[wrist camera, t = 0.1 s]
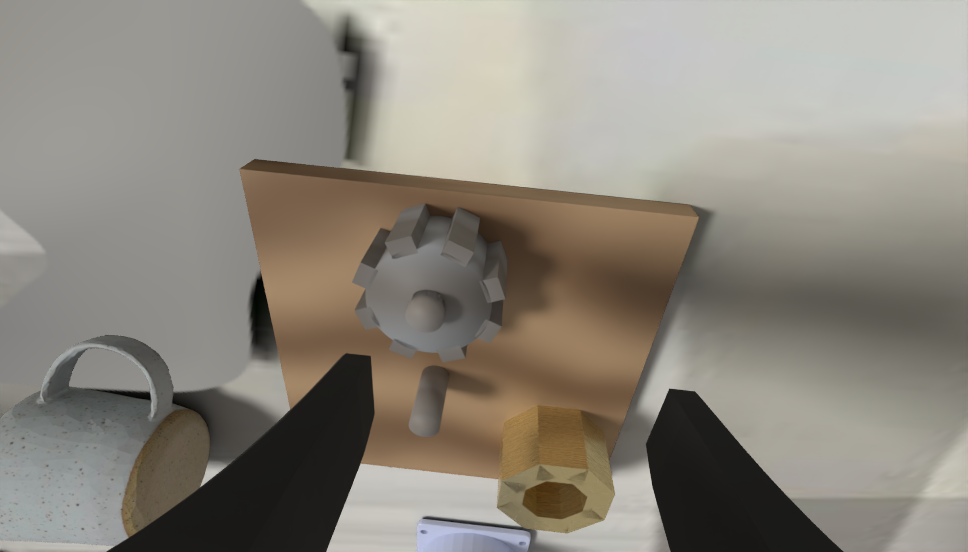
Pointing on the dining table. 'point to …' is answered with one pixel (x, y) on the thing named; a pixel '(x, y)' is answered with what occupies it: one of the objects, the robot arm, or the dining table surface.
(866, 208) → the dining table surface
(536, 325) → the board
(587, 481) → the wooden octagonal nut
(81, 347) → the ceramic mug
